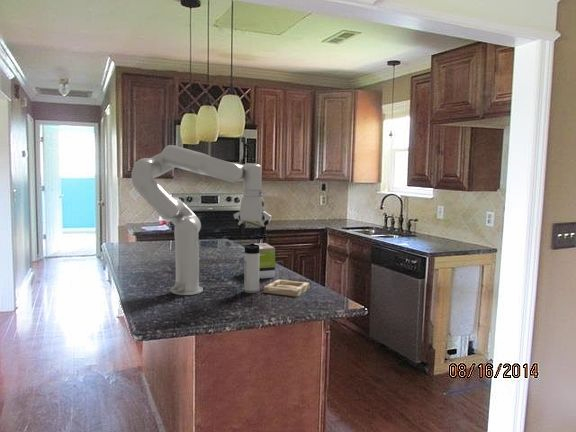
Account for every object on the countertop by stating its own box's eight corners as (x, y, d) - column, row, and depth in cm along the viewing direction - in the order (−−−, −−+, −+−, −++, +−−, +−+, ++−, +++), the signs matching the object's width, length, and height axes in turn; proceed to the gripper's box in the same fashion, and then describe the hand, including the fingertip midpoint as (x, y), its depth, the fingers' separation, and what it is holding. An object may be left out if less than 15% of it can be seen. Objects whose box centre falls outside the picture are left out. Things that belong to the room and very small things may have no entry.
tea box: (246, 272, 236) (247, 243, 235) (266, 271, 240) (266, 242, 239) (255, 279, 222) (255, 248, 221) (275, 277, 226) (276, 247, 225)
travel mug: (259, 289, 203) (259, 243, 201) (258, 293, 197) (259, 246, 195) (244, 289, 203) (245, 243, 201) (243, 293, 196) (244, 245, 195)
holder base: (297, 296, 193) (297, 290, 192) (264, 292, 198) (264, 286, 198) (309, 288, 206) (309, 282, 206) (278, 284, 212) (278, 279, 212)
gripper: (275, 194, 196) (274, 235, 198) (238, 193, 203) (238, 232, 204) (267, 195, 189) (267, 237, 191) (229, 194, 196) (229, 234, 197)
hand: (252, 235), depth 198 cm, fingers open, 9 cm apart
